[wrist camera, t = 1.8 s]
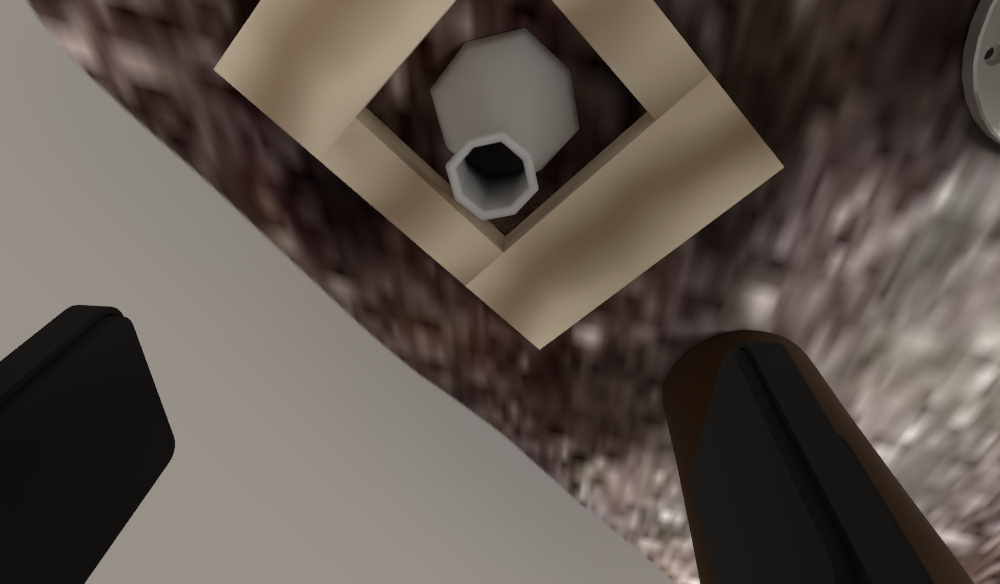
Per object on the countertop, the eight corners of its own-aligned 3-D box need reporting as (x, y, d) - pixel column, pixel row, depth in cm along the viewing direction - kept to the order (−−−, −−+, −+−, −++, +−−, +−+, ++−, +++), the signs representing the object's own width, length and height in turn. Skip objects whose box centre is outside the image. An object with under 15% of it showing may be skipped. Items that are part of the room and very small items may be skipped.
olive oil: (657, 323, 35) (840, 913, 14) (841, 318, 34) (1335, 939, 13) (647, 448, 41) (767, 1009, 19) (805, 447, 40) (1113, 1034, 19)
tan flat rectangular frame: (770, 153, 30) (784, 167, 28) (539, 330, 36) (539, 349, 34) (450, -251, 22) (443, -267, 21) (232, 61, 29) (213, 69, 27)
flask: (532, -3, 27) (529, 25, 18) (603, 133, 30) (629, 213, 21) (404, 81, 29) (348, 142, 20) (483, 200, 32) (462, 297, 23)
